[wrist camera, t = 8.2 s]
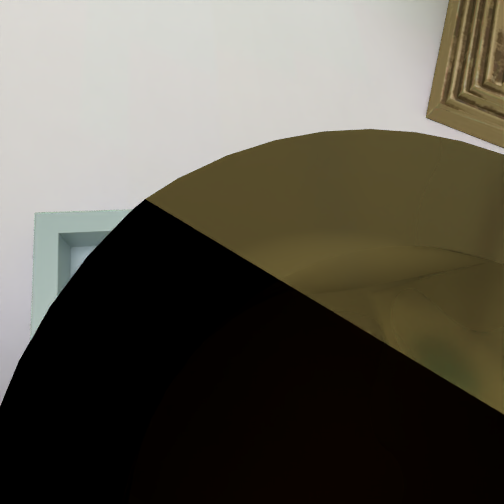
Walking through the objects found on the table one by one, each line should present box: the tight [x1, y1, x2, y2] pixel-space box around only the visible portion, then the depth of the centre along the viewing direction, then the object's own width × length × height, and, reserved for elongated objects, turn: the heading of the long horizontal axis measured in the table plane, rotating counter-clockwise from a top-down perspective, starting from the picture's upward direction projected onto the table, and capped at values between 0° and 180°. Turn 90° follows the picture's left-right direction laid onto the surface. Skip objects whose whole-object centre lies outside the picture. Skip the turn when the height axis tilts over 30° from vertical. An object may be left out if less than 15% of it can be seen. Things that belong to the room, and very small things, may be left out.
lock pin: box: [0, 129, 504, 504], centre depth 8 cm, size 4×4×13 cm
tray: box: [30, 210, 131, 341], centre depth 19 cm, size 22×22×3 cm
